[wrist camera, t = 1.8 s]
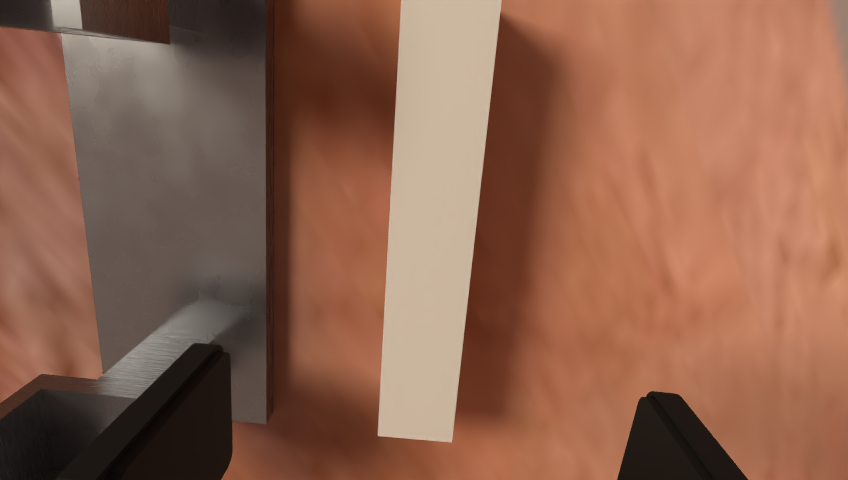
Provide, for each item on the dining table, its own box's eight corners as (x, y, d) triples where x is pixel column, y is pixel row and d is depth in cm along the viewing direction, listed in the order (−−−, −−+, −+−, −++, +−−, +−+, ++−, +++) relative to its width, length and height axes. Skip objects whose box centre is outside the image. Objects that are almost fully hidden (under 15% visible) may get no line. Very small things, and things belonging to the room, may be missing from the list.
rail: (410, 1, 23) (402, -22, 19) (490, 7, 23) (503, -14, 19) (387, 381, 30) (377, 435, 25) (449, 386, 30) (451, 442, 25)
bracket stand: (62, -109, 22) (-307, -305, 11) (273, -86, 22) (112, -261, 11) (119, 396, 31) (-59, 566, 20) (272, 412, 31) (180, 590, 20)
